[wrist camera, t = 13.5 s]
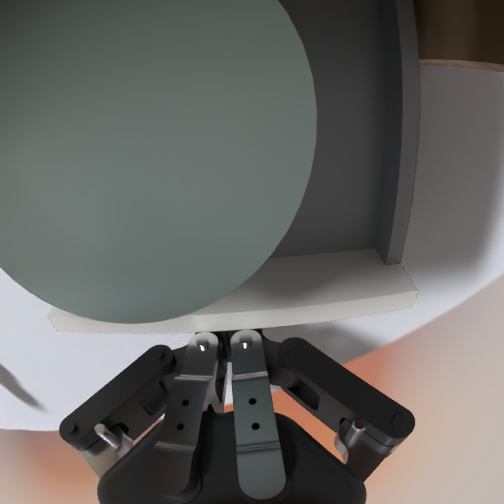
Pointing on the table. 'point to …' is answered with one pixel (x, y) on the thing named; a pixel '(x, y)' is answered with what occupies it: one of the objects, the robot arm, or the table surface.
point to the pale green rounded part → (148, 149)
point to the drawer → (334, 183)
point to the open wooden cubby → (461, 33)
